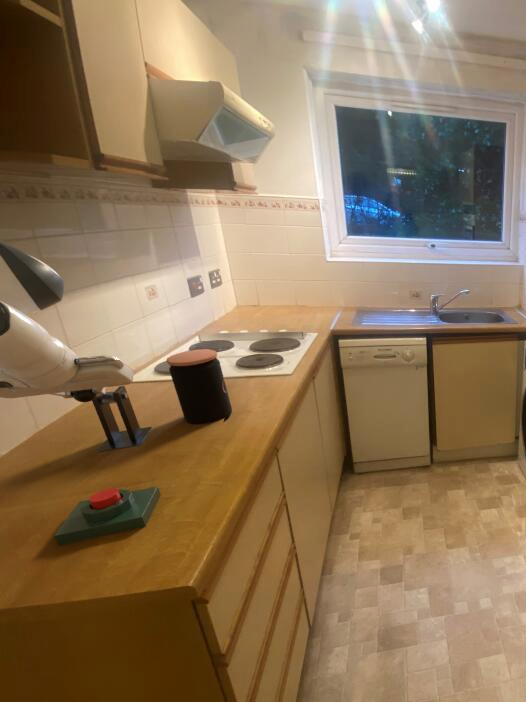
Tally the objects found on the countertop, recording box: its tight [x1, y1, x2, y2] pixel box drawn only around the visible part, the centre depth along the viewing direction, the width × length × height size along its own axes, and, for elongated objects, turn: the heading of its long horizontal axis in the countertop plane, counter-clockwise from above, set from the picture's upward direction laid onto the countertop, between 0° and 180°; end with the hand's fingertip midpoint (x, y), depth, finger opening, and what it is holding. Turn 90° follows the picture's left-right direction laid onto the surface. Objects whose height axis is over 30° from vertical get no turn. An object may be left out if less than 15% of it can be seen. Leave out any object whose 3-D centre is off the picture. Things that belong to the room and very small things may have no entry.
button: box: [88, 487, 121, 509], centre depth 78 cm, size 4×4×2 cm
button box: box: [53, 485, 162, 546], centre depth 79 cm, size 12×10×4 cm
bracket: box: [91, 385, 153, 453], centre depth 102 cm, size 10×8×14 cm
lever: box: [72, 389, 117, 405], centre depth 95 cm, size 14×4×4 cm, turn 23°
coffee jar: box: [165, 348, 233, 425], centre depth 114 cm, size 11×11×18 cm
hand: (86, 393), depth 91 cm, fingers closed on lever, 3 cm apart
